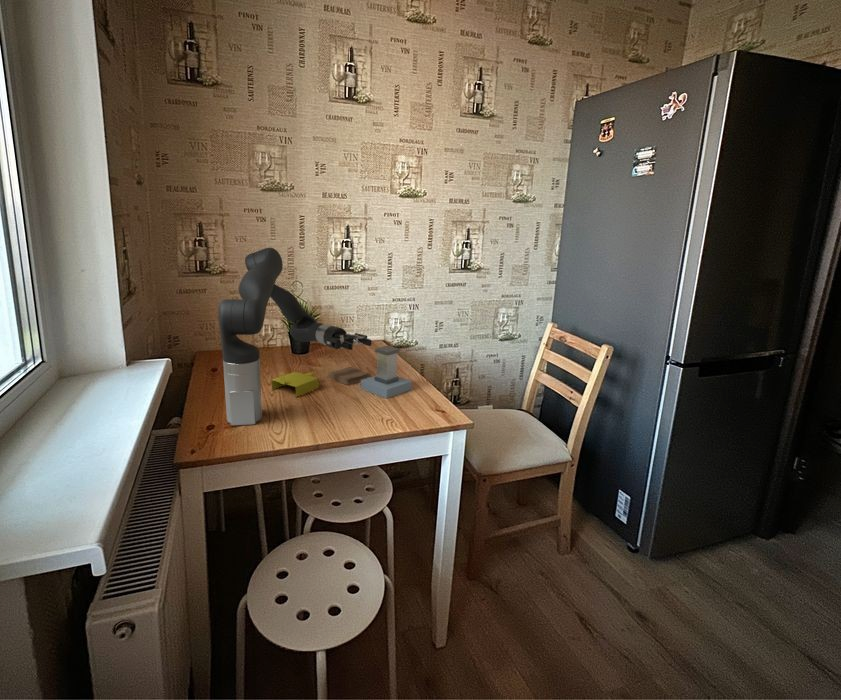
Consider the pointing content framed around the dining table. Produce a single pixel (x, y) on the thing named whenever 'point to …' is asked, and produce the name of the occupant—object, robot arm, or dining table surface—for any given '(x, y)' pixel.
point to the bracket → (297, 382)
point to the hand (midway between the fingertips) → (361, 344)
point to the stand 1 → (349, 375)
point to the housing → (387, 364)
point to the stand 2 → (386, 387)
